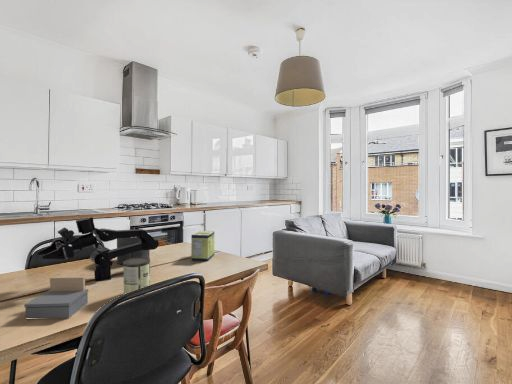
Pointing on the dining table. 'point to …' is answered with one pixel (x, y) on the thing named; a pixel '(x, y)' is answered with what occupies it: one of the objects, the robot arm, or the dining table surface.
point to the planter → (139, 254)
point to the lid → (60, 292)
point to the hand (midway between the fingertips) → (39, 255)
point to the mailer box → (57, 310)
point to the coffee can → (136, 274)
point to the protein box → (202, 245)
